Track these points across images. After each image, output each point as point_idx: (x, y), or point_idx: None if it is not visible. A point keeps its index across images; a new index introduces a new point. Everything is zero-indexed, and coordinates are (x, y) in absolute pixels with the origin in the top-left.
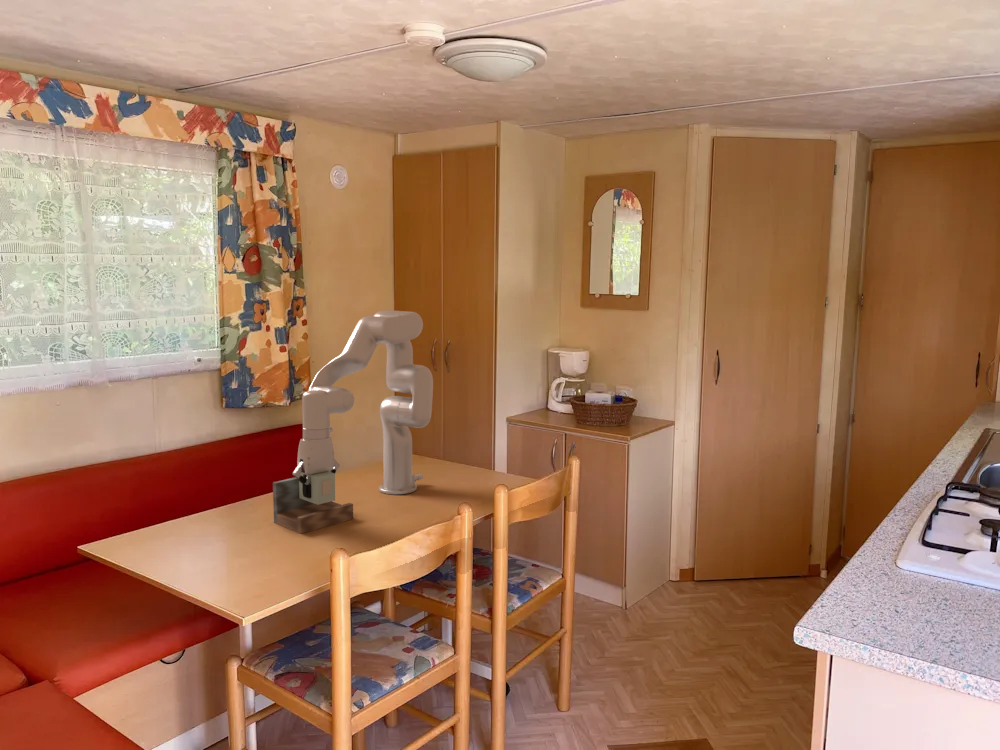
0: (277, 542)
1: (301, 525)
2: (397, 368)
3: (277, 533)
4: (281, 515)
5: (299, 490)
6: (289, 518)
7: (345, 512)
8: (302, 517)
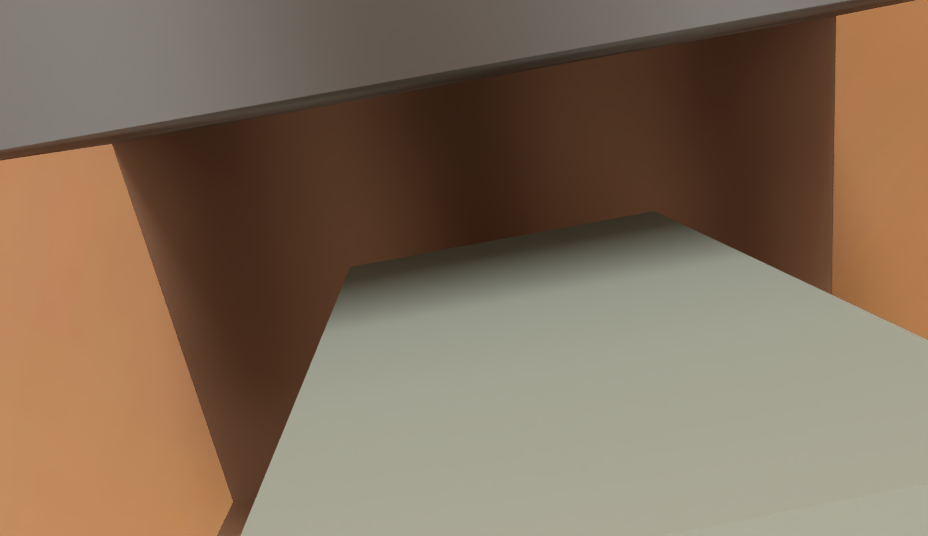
0: (62, 532)
1: None
2: None
3: (110, 358)
4: (145, 237)
5: (336, 311)
6: (196, 369)
7: None
8: None
